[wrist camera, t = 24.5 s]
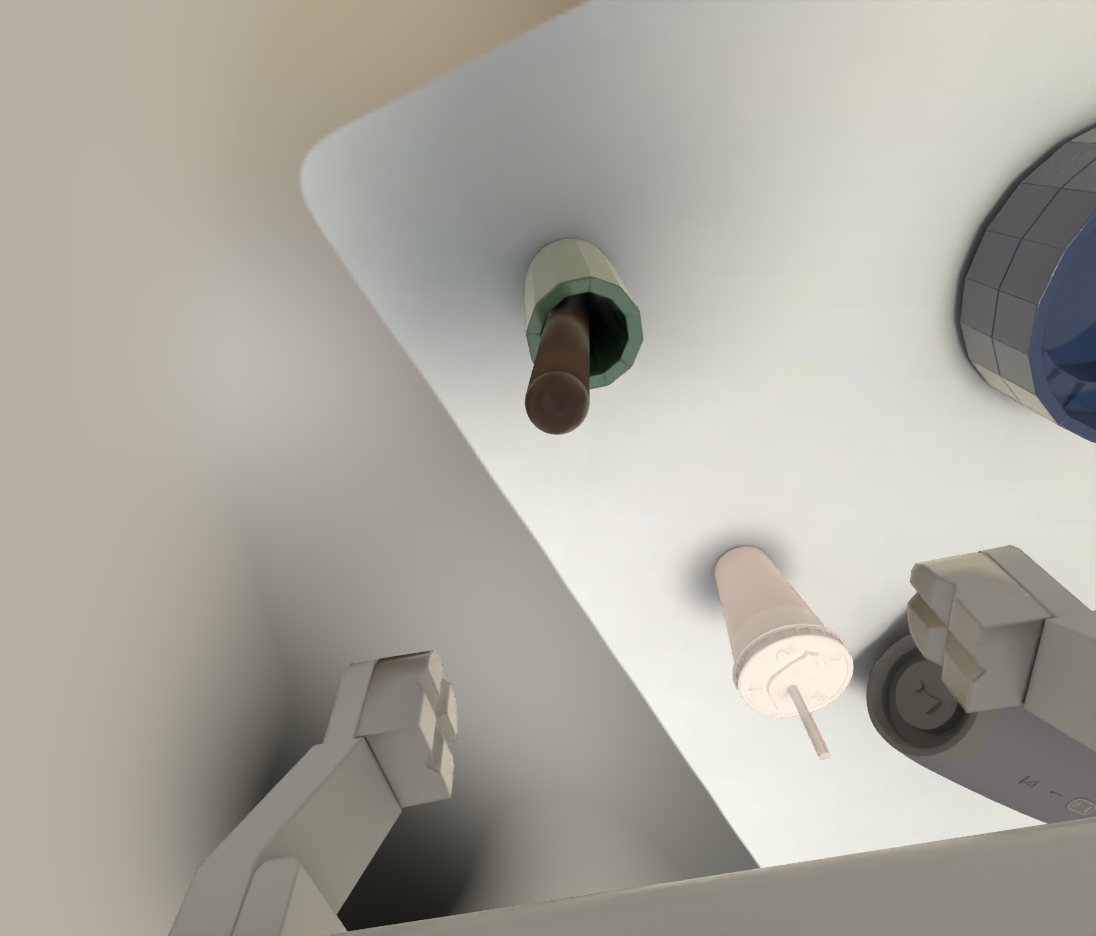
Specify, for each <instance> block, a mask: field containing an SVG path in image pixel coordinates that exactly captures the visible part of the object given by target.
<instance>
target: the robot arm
mask: <svg viewBox="0 0 1096 936" xmlns="http://www.w3.org/2000/svg"><path fill="white" fill-rule="evenodd" d="M910 583H911V584H912V586H913V587H914V588H915V589H916V590H917V593H916V594H915V595H914V596H913V598H912V599H911V600H910V601H909V602H908V608H907V620H908V625H909V629H910V633H911V635H912V638H913V640H914V642H915V644H916V646H917V647H918V649H919V650H920V651H921V653H922V654H923V656H924V657H925V658H926V659H928V660H930V661H932V662H934V663H935V664H937V665H939V666H941V667H943V672H942V679H941V680H942V681H943V683H944V684H945V685H946V687H947V688H948V689H949V691H950V692H951V693H952V694H953V696H954V697H955V698H956V700H957V701H958V702H959V704H960V705H961V706H962V708H963V709H964V710H965V712H966V713H971V712H979V711H986V710H993V709H1001V708H1008V707H1015V706H1022V705H1024V707H1023V708H1024V709H1025V710H1027V711H1029V712H1030V713H1032V714H1034V715H1035V716H1037V717H1039V718H1040V719H1042V720H1043V721H1045V722H1047V723H1048V724H1050V725H1052V726H1053V727H1055V728H1057V729H1058V730H1060V731H1061V732H1063V733H1065V734H1066V735H1068V736H1070V737H1071V738H1073V739H1075V740H1076V741H1078V742H1079V743H1081V744H1083V745H1084V746H1086V747H1088V748H1089V749H1091V750H1093V751H1094V752H1096V611H1091V610H1090V609H1089V608H1088V607H1086V606H1085V605H1084V604H1083V603H1082V602H1081V601H1079V600H1078V599H1077V598H1076V597H1075V596H1074V595H1072V594H1071V593H1070V592H1069V591H1068V590H1067V589H1066V588H1064V587H1063V586H1062V585H1061V584H1060V583H1059V582H1057V581H1056V580H1055V579H1054V578H1053V577H1052V576H1050V575H1049V574H1048V573H1047V572H1046V571H1045V570H1044V569H1042V568H1041V567H1040V566H1039V565H1038V564H1037V563H1035V562H1034V561H1033V560H1032V559H1031V558H1030V557H1028V556H1027V555H1026V554H1025V553H1024V552H1023V551H1022V550H1020V549H1019V548H1016V547H1014V546H1011V545H1009V546H1004V547H999V548H994V549H989V550H984V551H979V552H977V553H969V554H964V555H959V556H953V557H948V558H943V559H937V560H932V561H927V562H921V563H916V564H915V566H914V567H913V569H912V570H911V578H910ZM442 671H443V664H442V662H441V660H440V657H439V655H438V653H437V652H436V651H426V652H420V653H413V654H407V655H401V656H394V657H388V658H381V659H378V660H373V661H366V662H359V663H352V664H350V666H349V667H348V668H347V669H346V671H345V673H344V676H343V679H342V683H341V686H340V689H339V692H338V696H337V699H336V702H335V705H334V709H333V712H332V715H331V718H330V721H329V725H328V728H327V731H326V734H325V738H324V741H323V744H319V745H314V746H313V747H312V748H311V749H310V750H309V751H308V752H307V753H306V754H305V755H304V757H303V758H302V759H301V760H300V761H299V762H298V763H297V764H296V765H295V766H294V767H293V768H292V769H291V770H290V771H289V772H288V774H286V775H285V777H284V778H283V779H282V780H281V781H280V782H279V783H278V784H277V785H276V786H275V787H274V788H273V789H272V790H271V791H270V792H269V793H268V794H267V795H266V796H265V797H264V798H263V800H262V801H261V802H260V803H259V804H258V805H257V806H256V807H255V808H254V809H253V810H252V811H251V812H250V813H249V814H248V815H247V816H246V817H245V819H243V821H242V822H241V823H240V824H239V825H238V826H237V827H236V828H235V829H234V830H233V831H232V832H231V833H230V834H229V835H228V836H227V837H226V838H225V839H224V841H222V843H221V844H220V845H219V846H218V847H217V848H216V849H215V850H214V851H213V852H212V853H211V854H210V856H208V857H207V858H206V859H205V860H204V861H203V862H202V864H201V865H200V866H199V867H198V868H197V869H196V872H195V874H194V876H193V879H192V881H191V883H190V886H189V888H188V891H187V893H186V895H185V898H184V900H183V902H182V905H181V907H180V909H179V912H178V914H177V916H176V919H175V921H174V923H173V926H172V928H171V930H170V933H169V935H168V936H1096V817H1090V818H1084V819H1077V820H1071V821H1064V822H1058V823H1051V824H1045V825H1038V826H1032V827H1025V828H1019V829H1012V830H1006V831H999V832H993V833H986V834H980V835H973V836H967V837H961V838H954V839H948V840H941V841H935V842H928V843H922V844H915V845H909V846H902V847H896V848H889V849H883V850H876V851H870V852H864V853H857V854H851V855H844V856H838V857H831V858H825V859H818V860H812V861H805V862H799V863H792V864H786V865H779V866H773V867H766V868H760V869H754V870H747V871H741V872H735V873H727V874H721V875H714V876H708V877H701V878H695V879H689V880H681V881H676V882H668V883H662V884H655V885H649V886H643V887H636V888H629V889H623V890H616V891H610V892H603V893H597V894H591V895H584V896H577V897H571V898H564V899H558V900H551V901H545V902H538V903H532V904H525V905H519V906H512V907H506V908H499V909H493V910H486V911H479V912H473V913H467V914H460V915H454V916H447V917H440V918H434V919H427V920H422V921H415V922H409V923H401V924H395V925H388V926H382V927H375V928H369V929H363V930H356V931H349V932H347V930H346V929H345V927H344V926H343V924H342V923H341V922H340V920H339V919H338V917H337V916H336V915H337V913H338V912H339V910H340V908H341V907H342V905H343V904H344V902H345V900H346V899H347V897H348V896H349V894H350V892H351V891H352V889H353V888H354V886H355V884H356V883H357V881H358V880H359V878H360V877H361V875H362V873H363V872H364V870H365V869H366V867H367V866H368V864H369V862H370V861H371V859H372V858H373V856H374V854H375V853H376V851H377V850H378V848H379V846H380V845H381V843H382V842H383V840H384V838H385V837H386V835H387V834H388V832H389V831H390V829H391V827H392V826H393V824H394V823H395V821H396V819H397V818H398V816H399V815H400V813H401V811H402V810H401V808H403V807H408V806H413V805H418V804H423V803H429V802H434V801H439V800H444V799H449V798H451V793H452V783H453V774H454V764H455V762H454V759H453V756H452V754H451V752H450V749H449V748H450V747H451V745H452V744H453V743H454V742H455V740H456V739H457V730H458V715H457V705H456V700H455V696H454V692H453V689H452V687H451V684H450V683H449V682H447V681H445V680H444V679H442Z"/></svg>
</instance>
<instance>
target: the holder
mask: <svg viewBox="0 0 1096 936" xmlns="http://www.w3.org/2000/svg"><path fill="white" fill-rule="evenodd" d="M524 289H525V319H526V337H527V341H528V346H529V350H530V355H531V359H532V361H533V363H535V359H536V355H537V351H538V348H539V344H540V340H541V336H542V333H543V329H544V325H545V322H546V318H547V315H548V312H549V311H551V310H552V309H553V308H554V307H555V306H556V305H557V304H559V303H560V302H561V301H562V300H563V299H564V298H565V297H568V296H572V295H577V294H582V293H587V292H589V389H593V388H598V387H603V386H607V385H610V384H611V383H612V382H614V381H615V380H616V379H617V378H618V377H620V376H621V375H622V374H623V373H625V372H626V371H627V370H628V369H630V368H631V366H632V365H633V363H634V360H635V358H636V356H637V353H638V351H639V349H640V346H641V344H642V341H643V333H642V325H641V317H640V311H639V309H638V307H637V305H636V303H635V302H634V300H633V298H632V297H631V295H630V294H629V292H628V290H627V289H626V287H625V285H624V284H623V282H622V281H621V279H620V277H619V276H618V274H617V272H616V271H615V269H614V268H613V266H612V264H611V263H610V262H609V261H608V259H607V258H606V257H605V255H604V254H603V253H602V252H601V251H600V250H599V248H597V247H596V246H594V245H593V244H591V243H589V242H587V241H584V240H581V239H575V238H566V239H560V240H557V241H554V242H552V243H550V244H548V245H546V246H545V247H544V248H542V249H541V250H540V251H539V252H538V253H537V254H536V255H535V257H534V258H533V260H532V261H531V263H530V265H529V268H528V271H527V275H526V280H525V285H524Z"/></svg>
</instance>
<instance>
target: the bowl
mask: <svg viewBox="0 0 1096 936" xmlns="http://www.w3.org/2000/svg"><path fill="white" fill-rule="evenodd" d="M960 324H961V328H962V332H963V336H964V340H965V345H966V349H967V353H968V357H969V359H970V361H971V362H972V363H973V365H974V366H975V367H976V368H977V370H978V371H979V372H980V373H981V375H982V376H983V377H984V379H985V380H986V381H987V382H988V384H989V385H990V386H991V387H993V388H995V389H996V390H998V391H1000V392H1002V393H1003V394H1005V395H1007V396H1009V397H1010V398H1012V399H1014V400H1015V401H1017V402H1019V403H1021V404H1022V405H1024V406H1026V407H1028V408H1029V409H1031V410H1033V411H1034V412H1036V413H1038V414H1040V415H1041V416H1043V417H1045V418H1047V419H1048V420H1050V421H1052V422H1053V423H1055V424H1057V425H1059V426H1061V427H1063V428H1065V429H1067V430H1069V431H1071V432H1073V433H1075V434H1077V435H1078V436H1080V437H1082V438H1084V439H1086V440H1088V441H1090V442H1093V443H1096V127H1095V128H1093V129H1091V130H1089V131H1087V132H1086V133H1084V134H1082V135H1080V136H1078V137H1076V138H1074V139H1072V140H1070V141H1069V142H1068V143H1065V144H1064V145H1063V146H1062V147H1061V148H1060V149H1058V150H1057V151H1056V152H1055V153H1054V154H1053V155H1052V156H1050V157H1049V158H1048V159H1047V160H1046V161H1045V162H1043V163H1042V164H1041V165H1040V166H1039V167H1038V168H1037V169H1035V170H1034V171H1033V172H1032V173H1031V174H1030V175H1029V176H1027V177H1026V178H1025V179H1024V180H1023V181H1022V182H1021V183H1020V184H1019V185H1018V186H1017V188H1016V189H1015V191H1014V192H1013V193H1012V195H1011V196H1010V197H1009V199H1008V200H1007V201H1006V203H1005V204H1004V205H1003V207H1002V208H1001V210H1000V211H999V212H998V214H997V215H996V216H995V218H994V219H993V220H992V222H991V223H990V224H989V226H988V227H987V229H986V231H985V233H984V235H983V238H982V240H981V242H980V245H979V247H978V249H977V252H976V254H975V257H974V259H973V261H972V264H971V266H970V268H969V271H968V273H967V275H966V278H965V284H964V293H963V301H962V309H961V318H960Z"/></svg>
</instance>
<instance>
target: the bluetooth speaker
mask: <svg viewBox="0 0 1096 936" xmlns="http://www.w3.org/2000/svg"><path fill="white" fill-rule="evenodd" d="M942 672H943V667H941V666H939V665H937V664H935V663H934V662H932V661H930V660H928V659H926V658H925V657H924V656H923V654H922V653H921V651H920V650H919V649H918V647H917V646H916V644H915V642H914V640H913V638H912V635H911V634H908V635H906V636H904V637H903V638H901V639H900V640H898V641H897V642H896V643H894V644H893V645H892V646H891V647H890V648H888V649H887V650H886V651H885V652H884V653H883V655H882V656H881V657H880V658H879V659H878V660H877V661H876V663H875V664H874V666H873V668H872V670H871V672H870V676H869V680H868V684H867V696H866V697H867V707H868V712H869V715H870V718H871V721H872V723H873V725H874V727H875V728H876V730H877V731H878V733H879V734H880V735H881V736H882V737H883V738H884V739H885V740H886V741H887V742H888V743H889V744H890V745H891V746H892V747H894V748H895V749H896V750H898V751H899V752H901V753H903V754H904V755H905V756H907V757H909V758H910V759H912V760H913V761H915V762H917V763H919V764H920V765H922V766H924V767H926V768H928V769H929V770H931V771H933V772H935V773H937V774H939V775H941V776H943V777H945V778H947V779H949V780H951V781H953V782H955V783H957V784H960V785H962V786H964V787H966V788H968V789H970V790H972V791H974V792H976V793H978V794H980V795H982V796H985V797H987V798H989V799H991V800H993V801H996V802H998V803H1000V804H1002V805H1005V806H1007V807H1009V808H1011V809H1014V810H1016V811H1018V812H1020V813H1023V814H1025V815H1028V816H1030V817H1033V818H1035V819H1038V820H1040V821H1043V822H1045V823H1048V824H1051V823H1058V822H1064V821H1071V820H1077V819H1084V818H1090V817H1096V752H1094V751H1093V750H1091V749H1089V748H1088V747H1086V746H1084V745H1083V744H1081V743H1079V742H1078V741H1076V740H1075V739H1073V738H1071V737H1070V736H1068V735H1066V734H1065V733H1063V732H1061V731H1060V730H1058V729H1057V728H1055V727H1053V726H1052V725H1050V724H1048V723H1047V722H1045V721H1043V720H1042V719H1040V718H1039V717H1037V716H1035V715H1034V714H1032V713H1030V712H1029V711H1027V710H1025V709H1024V708H1023V707H1024V705H1022V706H1015V707H1008V708H1001V709H993V710H986V711H979V712H971V713H966V712H965V710H964V709H963V708H962V706H961V705H960V704H959V702H958V701H957V700H956V698H955V697H954V696H953V694H952V693H951V692H950V691H949V689H948V688H947V687H946V685H945V684H944V683H943V681H942V680H941V679H942Z"/></svg>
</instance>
